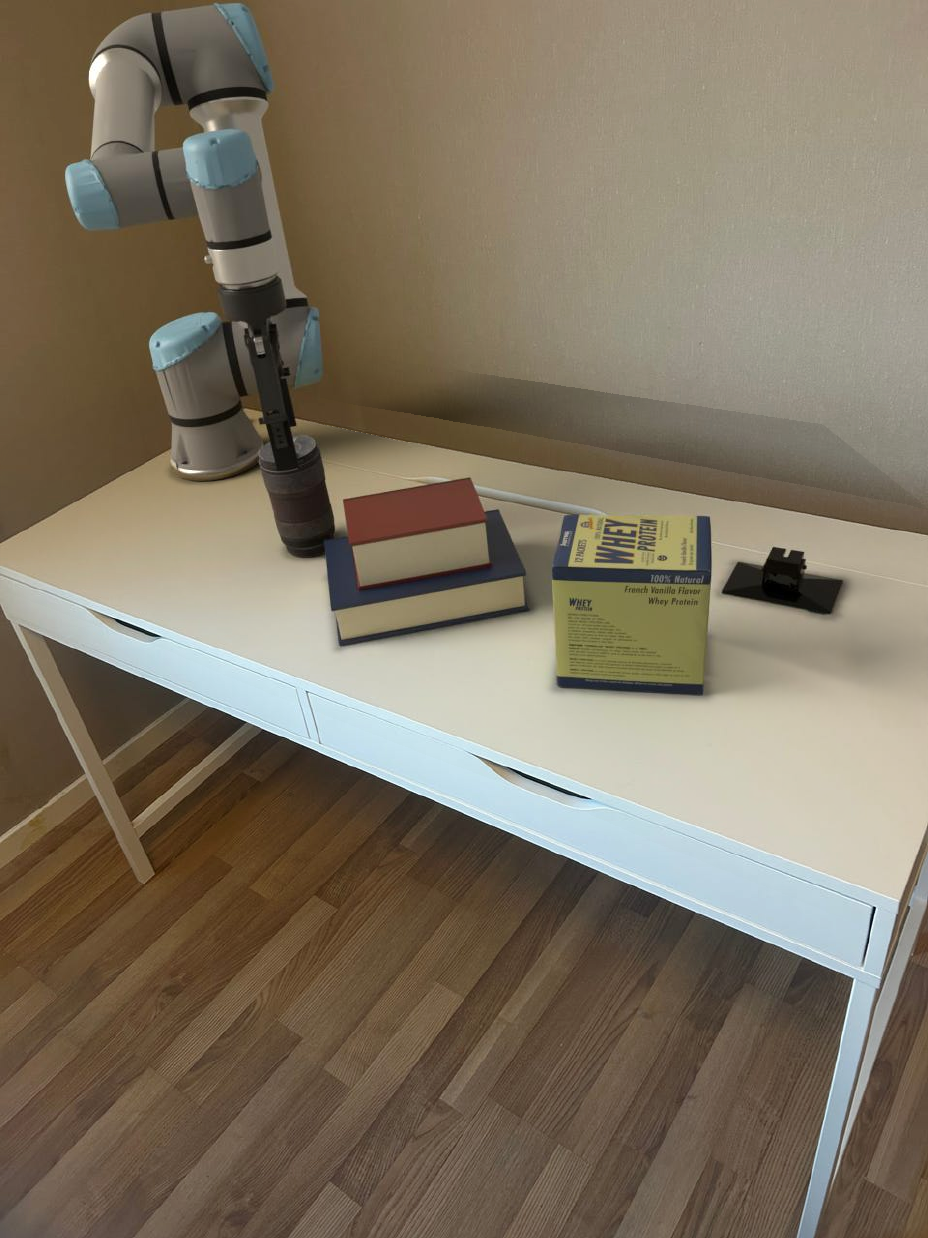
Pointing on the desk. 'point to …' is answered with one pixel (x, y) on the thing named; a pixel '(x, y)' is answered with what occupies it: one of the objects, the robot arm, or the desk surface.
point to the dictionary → (417, 533)
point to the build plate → (784, 583)
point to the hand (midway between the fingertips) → (287, 446)
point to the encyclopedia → (425, 592)
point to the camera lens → (299, 498)
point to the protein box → (632, 602)
